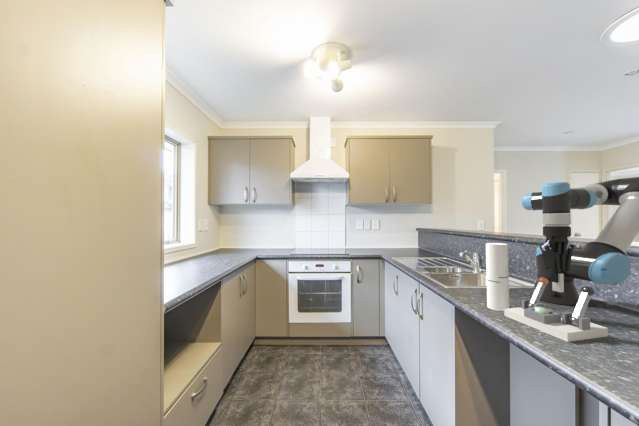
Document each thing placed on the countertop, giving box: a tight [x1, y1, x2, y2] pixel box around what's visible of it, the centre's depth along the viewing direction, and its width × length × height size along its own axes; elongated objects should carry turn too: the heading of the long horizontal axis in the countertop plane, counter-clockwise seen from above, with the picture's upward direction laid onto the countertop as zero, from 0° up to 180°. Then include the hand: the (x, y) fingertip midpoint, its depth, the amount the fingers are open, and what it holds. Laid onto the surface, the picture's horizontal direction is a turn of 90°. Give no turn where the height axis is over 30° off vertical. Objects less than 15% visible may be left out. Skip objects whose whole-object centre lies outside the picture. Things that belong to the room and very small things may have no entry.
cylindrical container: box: [485, 242, 510, 312], centre depth 101 cm, size 7×7×25 cm
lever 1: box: [525, 277, 549, 308], centre depth 91 cm, size 3×3×13 cm
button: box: [535, 307, 550, 314], centre depth 83 cm, size 4×4×3 cm
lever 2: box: [567, 286, 595, 326], centre depth 78 cm, size 3×3×13 cm
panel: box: [503, 298, 609, 343], centre depth 85 cm, size 15×20×6 cm
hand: (558, 291), depth 93 cm, fingers closed
